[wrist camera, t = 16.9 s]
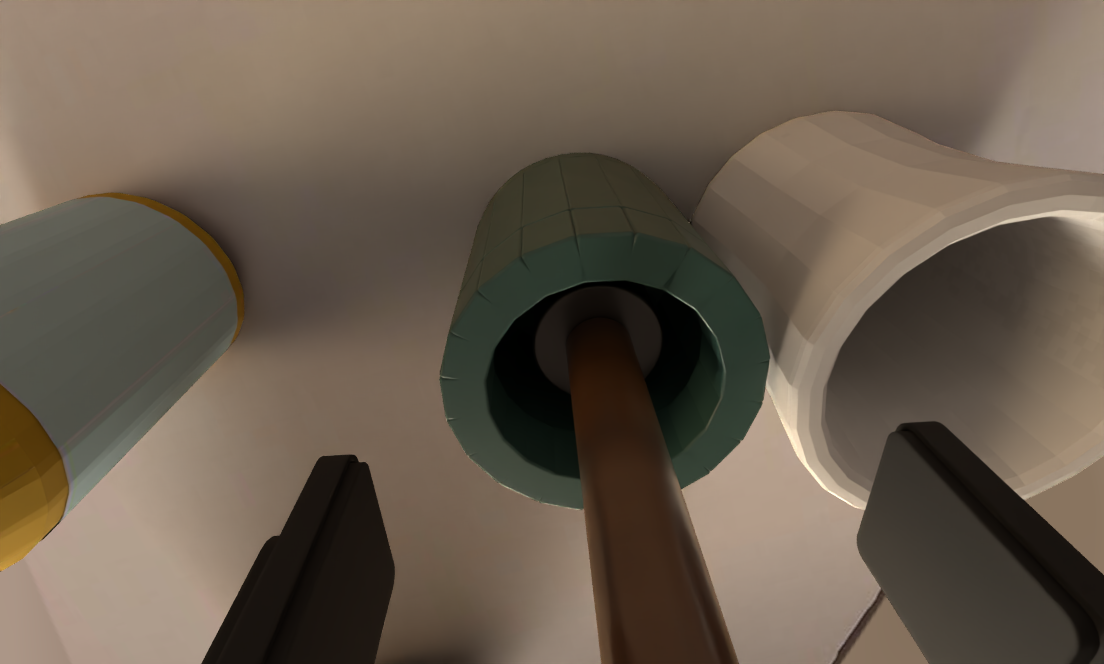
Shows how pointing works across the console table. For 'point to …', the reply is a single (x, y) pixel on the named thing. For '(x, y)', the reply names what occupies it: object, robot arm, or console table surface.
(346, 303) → the console table surface
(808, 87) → the console table surface
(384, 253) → the console table surface
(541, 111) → the console table surface
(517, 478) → the green pen holder
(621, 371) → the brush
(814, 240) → the mug
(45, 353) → the bottle
